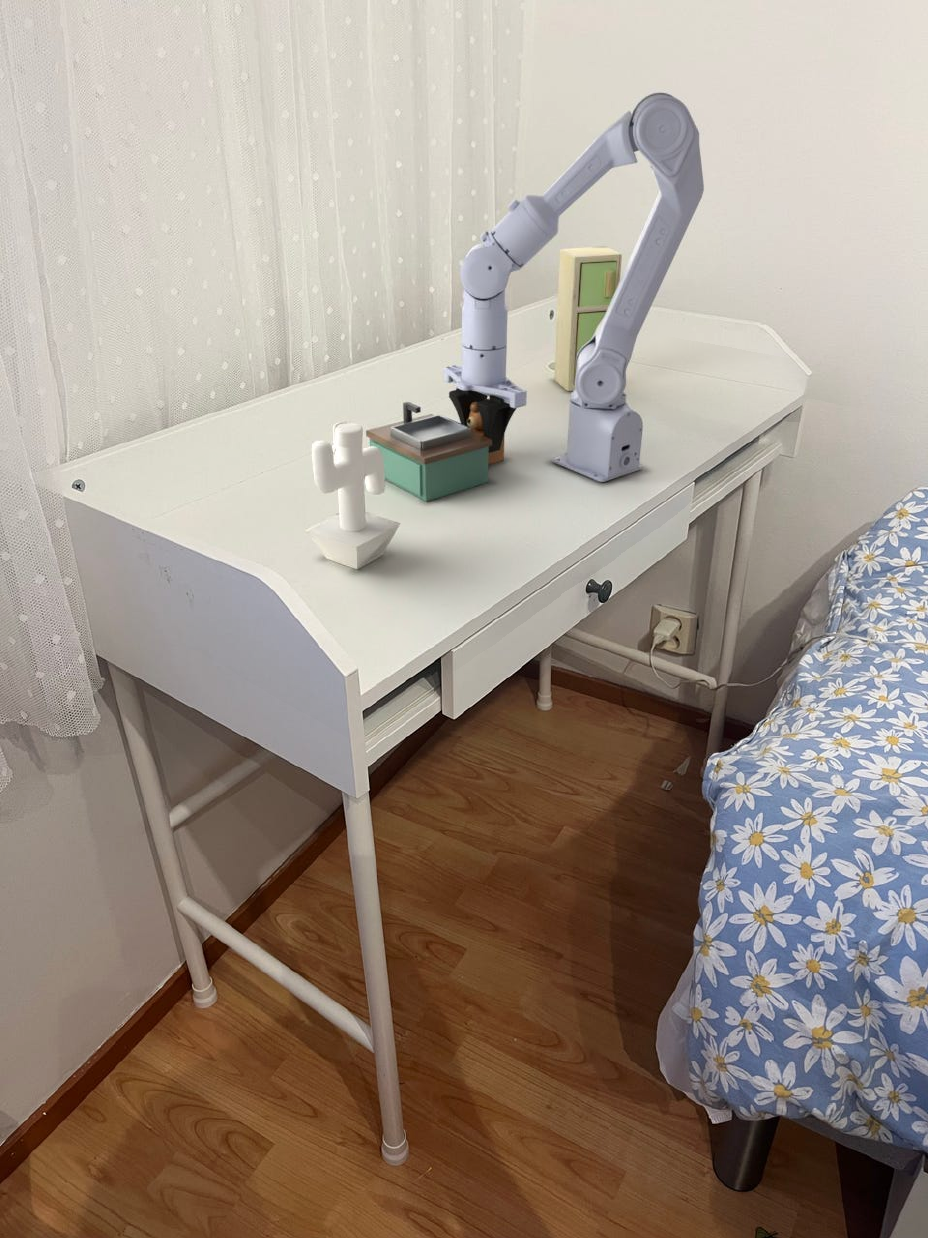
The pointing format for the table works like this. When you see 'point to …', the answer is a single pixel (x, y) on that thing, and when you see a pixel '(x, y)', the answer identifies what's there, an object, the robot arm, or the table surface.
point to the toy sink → (431, 454)
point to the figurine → (350, 498)
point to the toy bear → (477, 427)
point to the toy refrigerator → (582, 303)
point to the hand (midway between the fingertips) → (482, 446)
